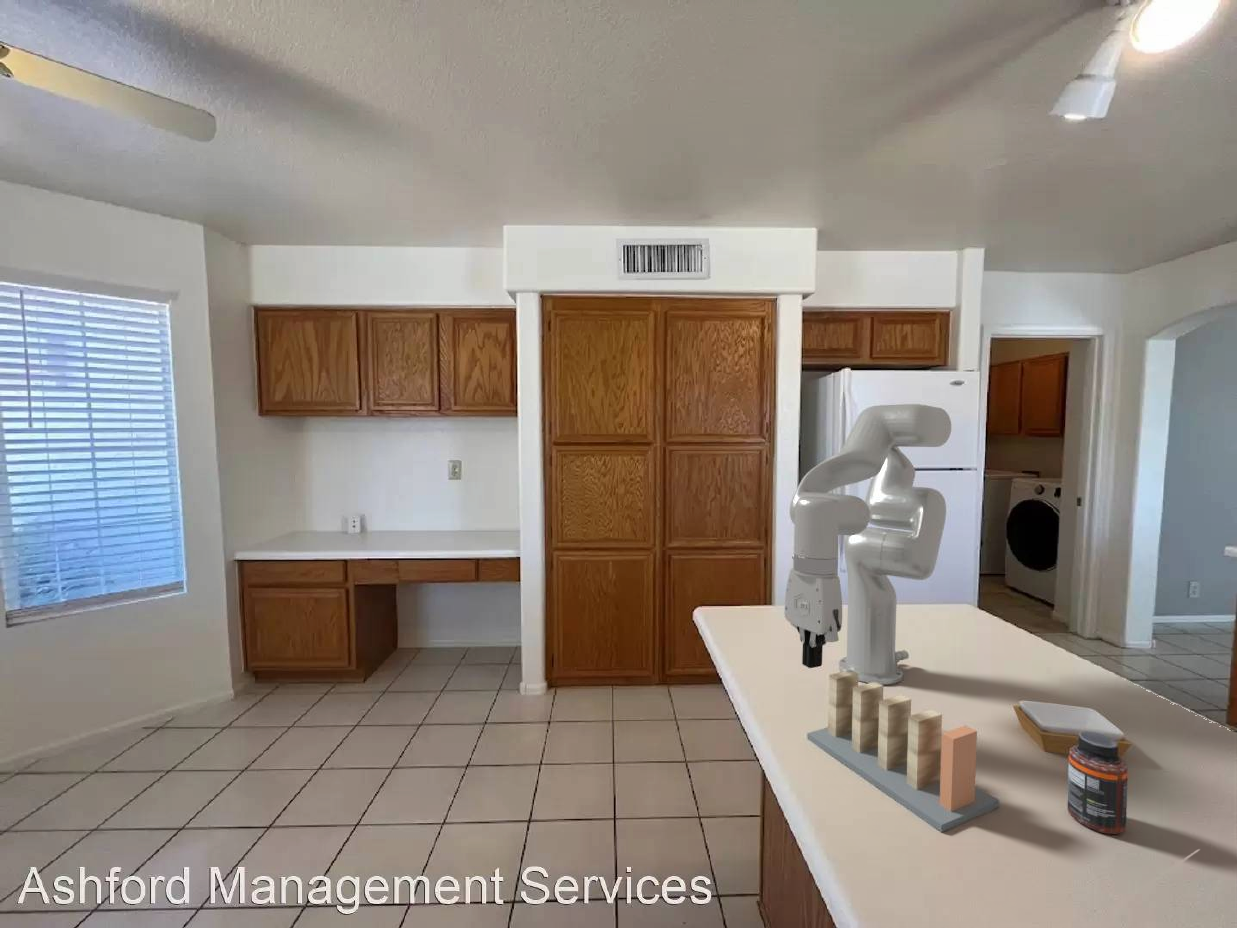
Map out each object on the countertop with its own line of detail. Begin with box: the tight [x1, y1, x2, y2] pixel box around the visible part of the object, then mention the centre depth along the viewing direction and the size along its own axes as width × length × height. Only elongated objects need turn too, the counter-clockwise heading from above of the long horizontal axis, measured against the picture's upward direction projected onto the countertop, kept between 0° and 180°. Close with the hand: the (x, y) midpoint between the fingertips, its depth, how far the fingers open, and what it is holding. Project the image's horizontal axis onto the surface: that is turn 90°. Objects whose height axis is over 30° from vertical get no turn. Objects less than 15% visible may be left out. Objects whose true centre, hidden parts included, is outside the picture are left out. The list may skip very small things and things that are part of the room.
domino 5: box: [940, 725, 978, 811], centre depth 75 cm, size 5×2×10 cm, turn 114°
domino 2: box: [852, 682, 884, 752], centre depth 88 cm, size 5×2×10 cm, turn 114°
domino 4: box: [907, 709, 943, 790], centre depth 79 cm, size 5×2×10 cm, turn 114°
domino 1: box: [827, 670, 859, 737], centre depth 93 cm, size 5×2×10 cm, turn 114°
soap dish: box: [1012, 700, 1132, 758], centre depth 91 cm, size 12×10×5 cm
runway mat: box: [806, 727, 1000, 833], centre depth 84 cm, size 12×24×1 cm, turn 24°
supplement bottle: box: [1067, 731, 1129, 835], centre depth 73 cm, size 6×6×11 cm
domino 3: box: [878, 694, 912, 770], centre depth 84 cm, size 5×2×10 cm, turn 114°
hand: (812, 665), depth 99 cm, fingers closed
